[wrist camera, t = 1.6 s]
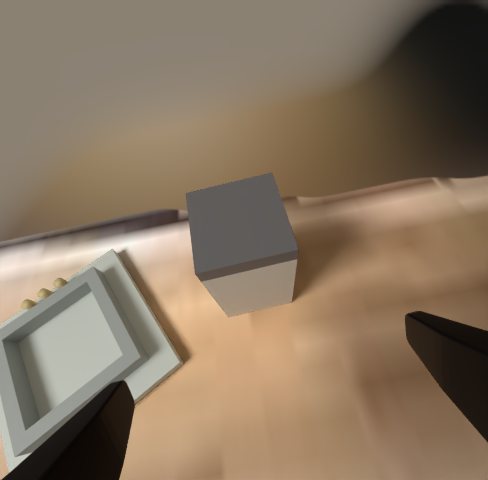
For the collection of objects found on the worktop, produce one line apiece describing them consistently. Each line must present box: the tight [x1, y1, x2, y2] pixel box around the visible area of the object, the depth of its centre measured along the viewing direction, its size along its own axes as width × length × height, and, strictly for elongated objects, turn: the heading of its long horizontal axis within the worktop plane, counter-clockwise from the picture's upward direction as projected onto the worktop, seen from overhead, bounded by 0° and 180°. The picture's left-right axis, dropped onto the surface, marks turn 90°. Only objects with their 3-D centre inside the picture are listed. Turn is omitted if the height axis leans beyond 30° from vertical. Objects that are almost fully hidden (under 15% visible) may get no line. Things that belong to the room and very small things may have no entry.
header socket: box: [0, 249, 184, 473], centre depth 21 cm, size 13×13×2 cm
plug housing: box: [186, 173, 299, 317], centre depth 19 cm, size 6×6×10 cm
